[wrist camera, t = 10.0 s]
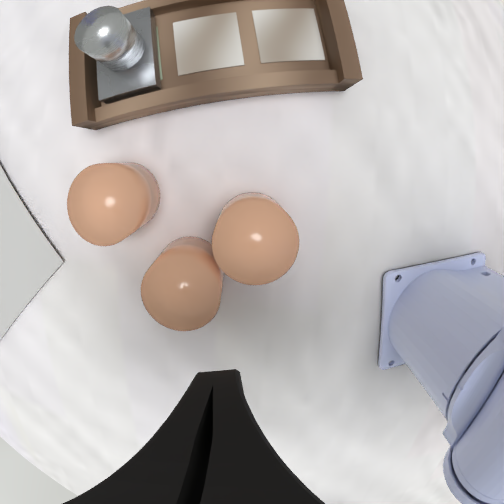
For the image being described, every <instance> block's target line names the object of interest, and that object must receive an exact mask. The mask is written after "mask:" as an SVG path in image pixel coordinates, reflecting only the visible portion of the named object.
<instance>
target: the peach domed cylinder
mask: <svg viewBox="0 0 504 504" xmlns="http://www.w3.org/2000/svg"><path fill="white" fill-rule="evenodd" d="M159 202H160V190H159V186H158V183H157V181H156V179H155V177H154V176H153V174H152V173H151V172H150V171H149V170H148V169H147V168H145V167H144V166H142V165H139V164H136V163H103V164H95V165H92V166H89V167H87V168H85V169H84V170H83V171H81V172H80V173H79V174H78V175H77V177H76V178H75V179H74V181H73V183H72V184H71V187H70V190H69V193H68V198H67V209H68V215H69V219H70V221H71V224H72V225H73V227H74V229H75V230H76V232H77V233H78V234H79V235H80V236H81V237H82V238H83V239H84V240H86V241H87V242H89V243H91V244H94V245H98V246H110V245H114V244H116V243H119V242H120V241H122V240H123V239H125V238H126V237H128V236H129V235H131V234H132V233H133V232H135V231H136V230H138V229H139V228H141V227H142V226H144V225H145V224H146V223H148V222H149V221H150V220H151V219H152V218H153V216H154V215H155V213H156V211H157V209H158V206H159Z"/></svg>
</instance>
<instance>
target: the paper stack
mask: <svg viewBox="0 0 504 504" xmlns="http://www.w3.org/2000/svg"><path fill="white" fill-rule="evenodd" d="M63 262H64V261H63V260H62V259H61V257H60V256H59V255H58V253H57V252H56V251H55V249H54V248H53V247H52V245H51V244H50V243H49V241H48V240H47V238H46V237H45V236H44V234H43V233H42V231H41V230H40V228H39V227H38V225H37V224H36V223H35V221H34V220H33V218H32V217H31V215H30V213H29V212H28V210H27V209H26V207H25V206H24V204H23V203H22V201H21V199H20V198H19V196H18V195H17V193H16V191H15V190H14V188H13V186H12V185H11V183H10V181H9V179H8V178H7V176H6V174H5V173H4V171H3V169H2V167H1V165H0V340H1V338H2V337H3V336H4V334H5V333H6V332H7V330H8V329H9V327H10V326H11V325H12V323H13V322H14V321H15V320H16V318H17V317H18V316H19V314H20V313H21V312H22V311H23V309H24V308H25V307H26V305H27V304H28V303H29V302H30V301H31V299H32V298H33V297H34V296H35V294H36V293H37V292H38V291H39V290H40V288H41V287H42V286H43V285H44V284H45V283H46V281H47V280H48V279H49V278H50V277H51V276H52V274H53V273H54V272H55V271H56V270H57V269H58V268H59V267H60V265H61V264H62V263H63Z"/></svg>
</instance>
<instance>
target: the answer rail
mask: <svg viewBox="0 0 504 504" xmlns="http://www.w3.org/2000/svg"><path fill="white" fill-rule="evenodd" d="M147 7H150V8H151V9H152V11H153V13H154V15H155V23H156V37H157V49H158V60H159V71H160V80H161V90H157V91H153V92H149V93H145V94H141V95H137V96H134V97H130V98H127V99H123V100H120V101H116V102H113V103H110V104H106V103H103V102H101V101H99V97H98V83H97V62H96V60H95V59H94V58H92V57H91V56H89V55H88V54H86V53H85V52H83V51H81V50H80V49H79V48H78V47H77V46H76V44H75V41H74V35H75V31H76V28H77V26H78V25H79V23H80V22H81V20H82V19H83V18H84V17H85V16H86V15H87V13H86V12H84V13H81V14H79V15H76V16H74V17H72V18H70V32H69V86H70V105H71V118H72V126H77V127H82V128H88V129H93V130H97V129H101V128H104V127H107V126H111V125H114V124H118V123H121V122H125V121H128V120H132V119H136V118H140V117H144V116H148V115H152V114H156V113H161V112H165V111H170V110H175V109H179V108H184V107H190V106H195V105H200V104H206V103H212V102H218V101H225V100H232V99H239V98H247V97H255V96H264V95H274V94H286V93H300V92H320V91H345V90H346V89H348V88H349V87H351V86H353V85H354V84H356V83H357V82H359V81H360V80H362V79H363V78H362V73H361V68H360V63H359V58H358V54H357V49H356V45H355V41H354V37H353V33H352V29H351V25H350V21H349V17H348V14H347V10H346V6H345V3H344V0H144V1H141V2H137V3H134V4H131V5H127V6H124V7H121V8H118V9H119V10H120V11H121V12H122V14H126V13H130V12H133V11H136V10H140V9H143V8H147Z"/></svg>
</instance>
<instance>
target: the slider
mask: <svg viewBox="0 0 504 504" xmlns="http://www.w3.org/2000/svg"><path fill="white" fill-rule="evenodd" d="M74 41H75V44H76V46H77V47H78V48H79V49H80V50H81V51H83V52H85V53H86V54H88V55H89V56H91V57H92V58H94V59H95V60H96V62H97V83H98V97H99V101H101V102H103V103H106V104H110V103H113V102H116V101H120V100H123V99H127V98H130V97H134V96H137V95H141V94H145V93H149V92H153V91H157V90H161V80H160V71H159V60H158V49H157V37H156V23H155V15H154V13H153V11H152V9H151V8H150V7H147V8H143V9H140V10H136V11H133V12H130V13H126V14H122V12H121V11H120V10H119V9H118V8H116V7H113V6H104V7H100V8H97V9H95V10H93V11H91V12H90V13H88V14H87V15H86V16H85V17H84V18H83V19H82V20H81V22H80V23H79V25H78V26H77V28H76V31H75V35H74Z"/></svg>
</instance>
